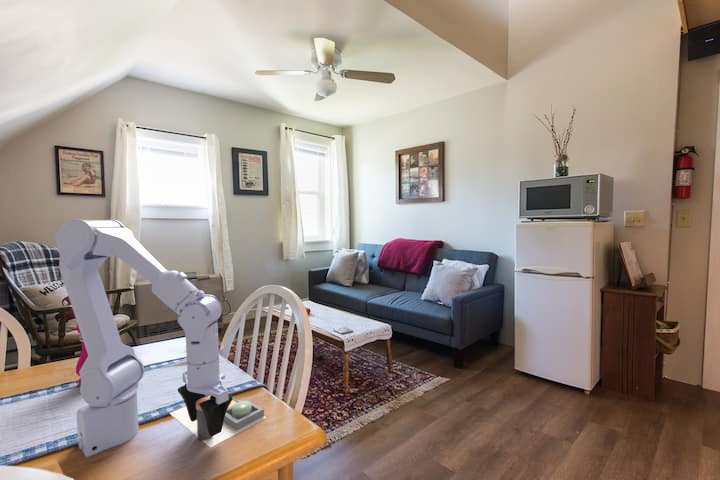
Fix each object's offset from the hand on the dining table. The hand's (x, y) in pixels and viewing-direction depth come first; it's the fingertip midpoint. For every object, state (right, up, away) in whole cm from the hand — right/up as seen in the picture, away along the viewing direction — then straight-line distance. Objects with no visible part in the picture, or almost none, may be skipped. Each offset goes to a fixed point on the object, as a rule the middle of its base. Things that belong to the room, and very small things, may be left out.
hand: (205, 426), depth 67 cm
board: (-1, -3, +7) cm, 8 cm away
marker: (0, -2, 0) cm, 2 cm away
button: (+5, -1, +6) cm, 8 cm away
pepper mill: (-42, -2, +25) cm, 49 cm away
